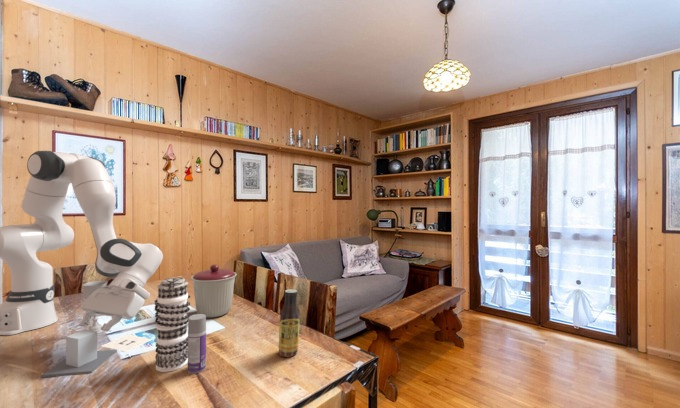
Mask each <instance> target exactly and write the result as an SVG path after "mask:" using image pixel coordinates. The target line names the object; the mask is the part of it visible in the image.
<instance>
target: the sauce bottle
mask: <svg viewBox="0 0 680 408" xmlns="http://www.w3.org/2000/svg"><path fill="white" fill-rule="evenodd" d="M283 295H284V305H283V307H282V308H281V310H280V319H279V326H278V327H279V328H278V329H279V330H278V332H279V333H278V354H279V356H281V357H283V358H291V357H293V356H296V355H297V353H298V350H299V341H300V340H299V339H300V308H299V307H298V305H297V301H298V300H297V296H298V290H297V289H291V288H290V289H285V290H284V294H283Z"/></svg>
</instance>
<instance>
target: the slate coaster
mask: <svg viewBox="0 0 680 408" xmlns="http://www.w3.org/2000/svg"><path fill="white" fill-rule="evenodd" d="M117 351H118V350H116V349H109V350H97V359H95V360H93V361H90V362H88V363H86V364H84V365H82V366H80V367H75V366H71V365H67V364H66V357H65V358H64V359H62V360H61V361H59V362H58V363H56V364H55V365H53V366H51V368H49V369H48V370H46V371H45V372H43V373H42V374H41V375H40V377H41V378H40V379H44V378H45V379H46V378H54V377H55V378H56V377H59V376H73V375H85V374H93V372H95V371H96V370H97V369H98V368H100V366H102V365H103V364H104V363H105V362H106V361H108V360H109V359H110V358H111V357H112V356H113V355H114V354H116V353H117Z"/></svg>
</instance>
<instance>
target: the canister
mask: <svg viewBox="0 0 680 408" xmlns="http://www.w3.org/2000/svg"><path fill="white" fill-rule="evenodd" d="M236 277H237V272H235V271H234V270H232V269H226V268H220V266H219V265H218V264H212V265H210V267H209V269H206V270H201V271H198V272H196V273H195V274H194V275H192V276H191V277H190V279H191V280H192V284H193V294H194V302H195V308H196V313H197V314H205V315H206V319H207V318H218V317H221V316H225V315H226V314H228V313H229V311H230V310H231V308H232V306H233V305H232V303H233V298H234V288H235V280H236Z"/></svg>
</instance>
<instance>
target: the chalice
mask: <svg viewBox="0 0 680 408" xmlns="http://www.w3.org/2000/svg"><path fill="white" fill-rule="evenodd" d="M108 282H109V281H108V280H95V281H89V282H86V283H83V284H82V286H83V289H84V301H85V300H86V299H87V298H88V297H89V296H90V295H91V294H92V293H93V292H94V291H96V290H97V289H99V288H101V287H103V286H105V285H108ZM98 315H99V314H95V315H94V316H93V318H92V319H91V320H92V321H93V324H92V325H90V326H89V328H88V330H91V331H96V332H97V334H99V333H103V332H104V331H103V330H101V327H102V326H103V325H101V324H99V323H98V320H99V317H98Z"/></svg>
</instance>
